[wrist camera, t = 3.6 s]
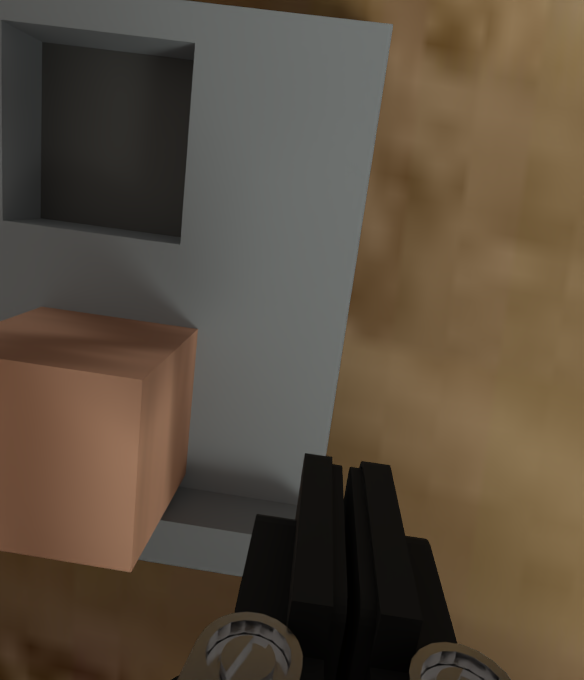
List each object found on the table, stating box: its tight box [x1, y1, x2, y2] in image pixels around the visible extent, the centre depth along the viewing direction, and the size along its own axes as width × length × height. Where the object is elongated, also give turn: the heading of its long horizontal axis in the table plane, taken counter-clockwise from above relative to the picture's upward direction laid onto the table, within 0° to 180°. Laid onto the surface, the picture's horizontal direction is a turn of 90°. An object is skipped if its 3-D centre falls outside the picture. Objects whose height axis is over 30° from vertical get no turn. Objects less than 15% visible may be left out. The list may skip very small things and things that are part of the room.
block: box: [0, 307, 198, 572], centre depth 15 cm, size 5×5×5 cm
